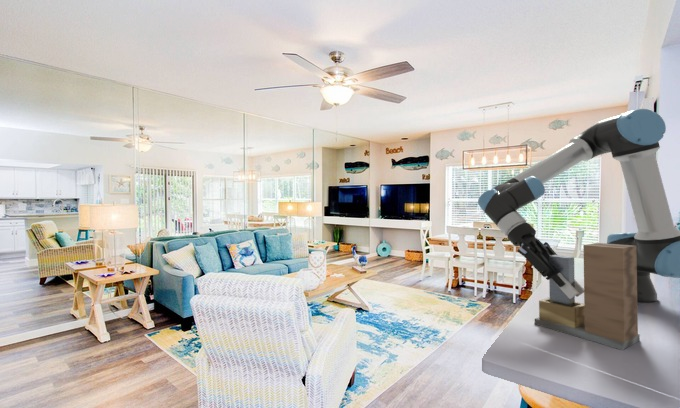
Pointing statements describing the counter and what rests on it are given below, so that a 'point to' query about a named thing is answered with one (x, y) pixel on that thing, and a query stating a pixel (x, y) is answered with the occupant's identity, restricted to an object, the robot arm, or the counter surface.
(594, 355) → the counter surface
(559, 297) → the grey block
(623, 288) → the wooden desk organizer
